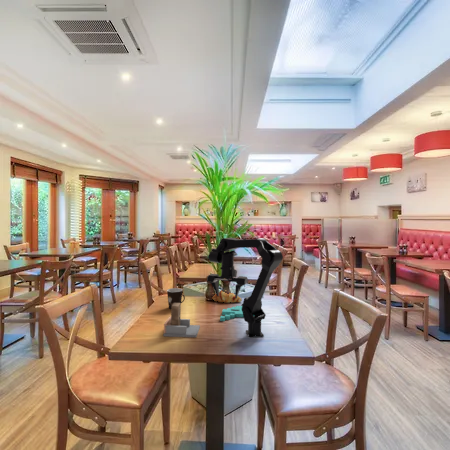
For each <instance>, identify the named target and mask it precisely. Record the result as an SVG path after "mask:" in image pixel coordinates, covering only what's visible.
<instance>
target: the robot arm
mask: <svg viewBox="0 0 450 450" xmlns="http://www.w3.org/2000/svg"><path fill="white" fill-rule="evenodd" d="M241 248H243V249H244V248H245V249H246V248H256V249H257V253H258V254H259V256H260V258H261V262H260V263H261V269H260V272H259V275H258V278H257V280H256V282H255V284H254V287H253V290H252V291H251V294H250V295H249V296H246V297H244V298H243V300H242V301H243V302H242V304H240V306H242V312H243V316H244V317H243V319H244V322H246V323H247V329H246V330H245V333H246V334H247V336H248V337H249V338H258V337H259V338H260V337H264V336H265V335H264V333H263V332H262V320H265V319H266V313H265V311H264V310H263V309H262V306H263V303H262V298H263V297H264V293H265V291H266V289H267V287H268V284H269V282H270V279H271V277H272V275H273V272H274V271H275V270H276V269H277V268H278V267H279V266H280V264H281V262H282V261H283V260H284V259H283V258H284V255H283V253H282V251H280V250H279V249H277V248H276V247H275V246H274V245H273V244H271V243H270V242H268V240H266V239H265V238H264V237H260V238H258V237H256V238H250V239H249V238H247V239H239V238H234V237H223V238H221V239H220V241H219V244H218V245H217V247H216V248H215V247H214V248H211V250H210V251H209V253H208V255H207V258H208V261H209V262H210V263H217V264H221V266H220V270H221V273H220V275H219V274H217V273H210V274H208V275H207V277H206V281H207V282H209V284H211V286H212V288H213V289H214V292H215V294H216V295H217V296H219V292H220V290H219V289H220V288H219V286H220V285H219V284H220V281H224V282H234V283H236V284H235V291H234V292H235V293H234V294H235V298H237V296H239V294H240V293H239V292H240V290H241V288H242V287H243V286H245V285H247V284H248V281H249V279H248V277H247V276H242V275H239V276H237V274H238V270H236V269H235V265H234V263H235V261H234V256H238V253H237V252H236V251H235V250H236V249H241ZM254 315H255V316H254Z"/></svg>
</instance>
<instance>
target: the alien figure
mask: <svg viewBox="0 0 450 450" xmlns="http://www.w3.org/2000/svg"><path fill="white" fill-rule="evenodd" d="M254 316H255V315H254ZM235 318H244V316H243V312H242V306H241V305H236V306H232V307H227V308H223V309H222V310H221V315H220V317H219V321H220V322H225V321H226V320H227V321H230V320H231V319H235Z"/></svg>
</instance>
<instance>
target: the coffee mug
mask: <svg viewBox="0 0 450 450" xmlns="http://www.w3.org/2000/svg"><path fill="white" fill-rule="evenodd" d="M166 292H167V293H166V295H167V303H168V309H169V310H171V306H172V305H173V303H181V304H182V303H184V301H185V298H186V297H185V295H184V294H183V292H184V291H183V288H178V287H174V288H173V287H172V288H168V289H167V290H166ZM182 298H183V299H182Z"/></svg>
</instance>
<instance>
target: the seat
mask: <svg viewBox="0 0 450 450" xmlns="http://www.w3.org/2000/svg"><path fill="white" fill-rule="evenodd" d="M200 328H201V325H199V324H198V325H197V324H194V325H193V324H191V319H190V318H180V326H175V325H171V315H170V316H169V317H168V318H167V319H166V320H165V322H164V323H163V335H162V336H163V337H171V338H172V337H173V338H174V337H175V338H197V336H198V334H199V331H200Z"/></svg>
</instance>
